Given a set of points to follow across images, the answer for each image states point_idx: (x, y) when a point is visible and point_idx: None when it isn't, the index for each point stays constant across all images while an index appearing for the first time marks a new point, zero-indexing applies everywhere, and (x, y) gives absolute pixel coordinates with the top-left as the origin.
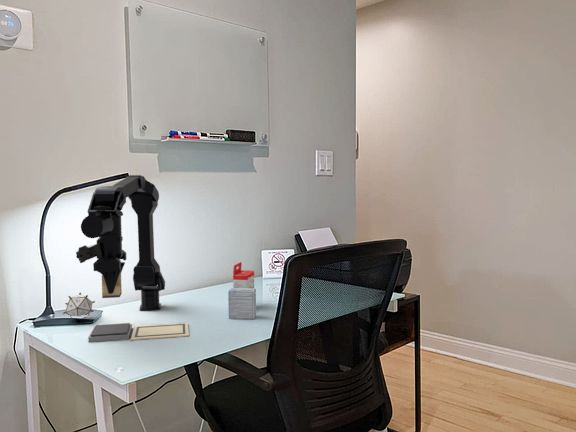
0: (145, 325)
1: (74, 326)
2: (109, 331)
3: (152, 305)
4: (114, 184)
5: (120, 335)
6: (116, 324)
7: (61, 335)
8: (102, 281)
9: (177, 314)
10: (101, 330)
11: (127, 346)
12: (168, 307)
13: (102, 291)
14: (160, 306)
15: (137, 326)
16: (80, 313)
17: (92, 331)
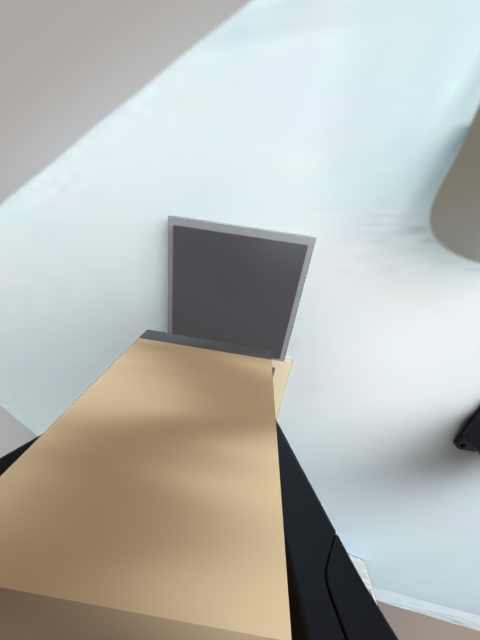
0: (283, 388)
1: (437, 139)
2: (198, 293)
3: (473, 441)
4: None
5: (168, 321)
6: (280, 319)
7: (310, 80)
8: (36, 451)
9: (364, 464)
10: (220, 266)
11: (111, 327)
12: (463, 462)
13: (117, 361)
14: (476, 451)
15: (283, 369)
16: None
17: (245, 230)
